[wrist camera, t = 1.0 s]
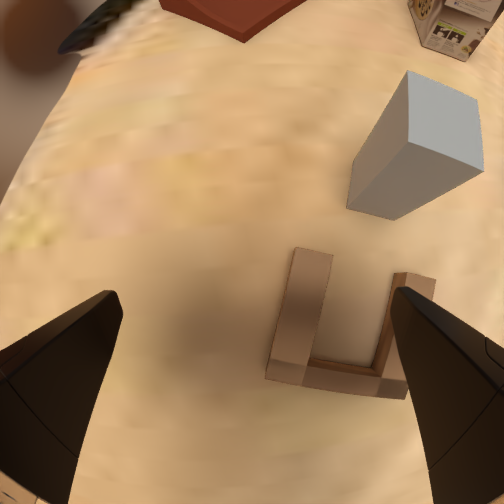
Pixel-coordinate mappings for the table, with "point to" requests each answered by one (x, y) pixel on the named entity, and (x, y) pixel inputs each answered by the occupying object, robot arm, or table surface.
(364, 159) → the peg
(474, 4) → the coffee box
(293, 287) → the slot block
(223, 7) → the hanging shelf
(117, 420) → the table surface
